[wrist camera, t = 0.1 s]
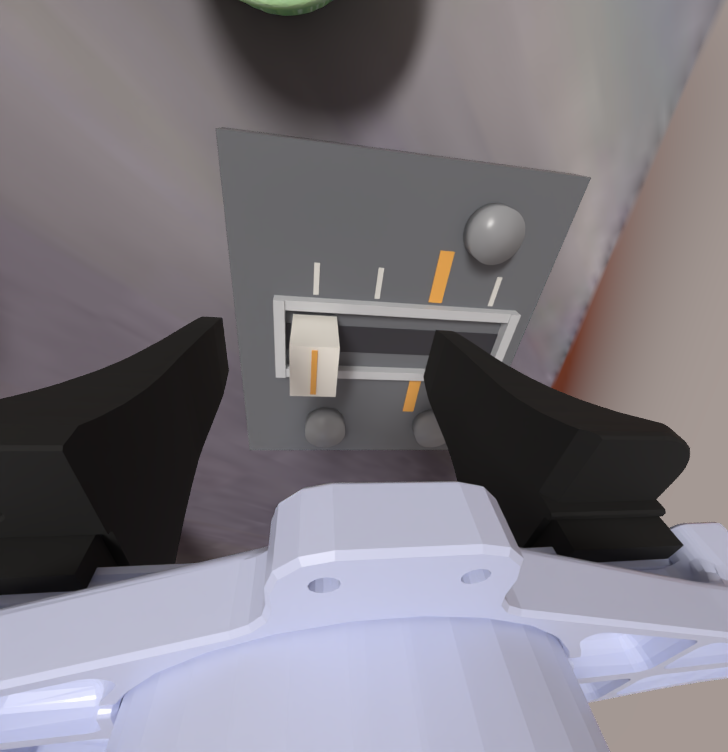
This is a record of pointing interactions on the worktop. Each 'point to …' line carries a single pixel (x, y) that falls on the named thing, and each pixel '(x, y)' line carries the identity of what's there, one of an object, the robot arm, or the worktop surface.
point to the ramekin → (287, 6)
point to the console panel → (377, 275)
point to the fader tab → (314, 355)
